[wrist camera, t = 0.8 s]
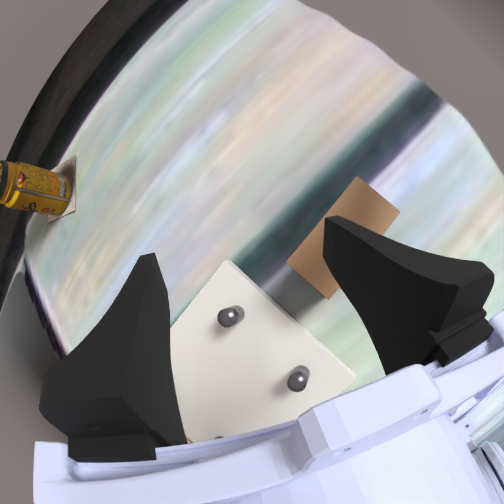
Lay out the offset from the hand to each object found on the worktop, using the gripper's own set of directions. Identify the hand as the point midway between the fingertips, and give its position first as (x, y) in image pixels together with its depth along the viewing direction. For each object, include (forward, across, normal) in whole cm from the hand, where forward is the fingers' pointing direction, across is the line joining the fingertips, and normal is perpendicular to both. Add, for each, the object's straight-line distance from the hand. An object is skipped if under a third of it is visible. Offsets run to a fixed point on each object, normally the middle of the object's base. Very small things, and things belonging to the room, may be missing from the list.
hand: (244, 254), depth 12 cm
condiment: (+32, +21, +5) cm, 38 cm away
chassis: (+6, +2, +19) cm, 20 cm away
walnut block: (+9, -10, +8) cm, 16 cm away
